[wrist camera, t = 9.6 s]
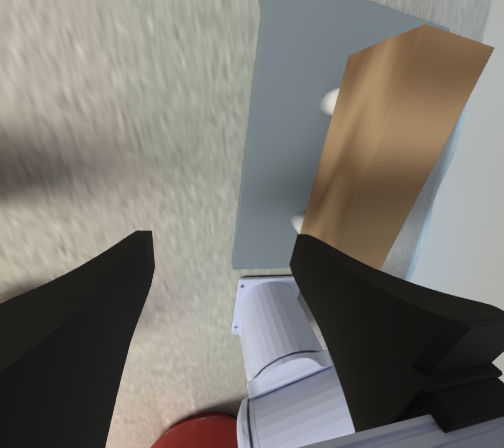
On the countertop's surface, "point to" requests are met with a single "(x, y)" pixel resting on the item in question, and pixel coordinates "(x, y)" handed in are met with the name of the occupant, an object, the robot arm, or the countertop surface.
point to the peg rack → (297, 113)
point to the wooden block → (388, 136)
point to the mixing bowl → (201, 433)
